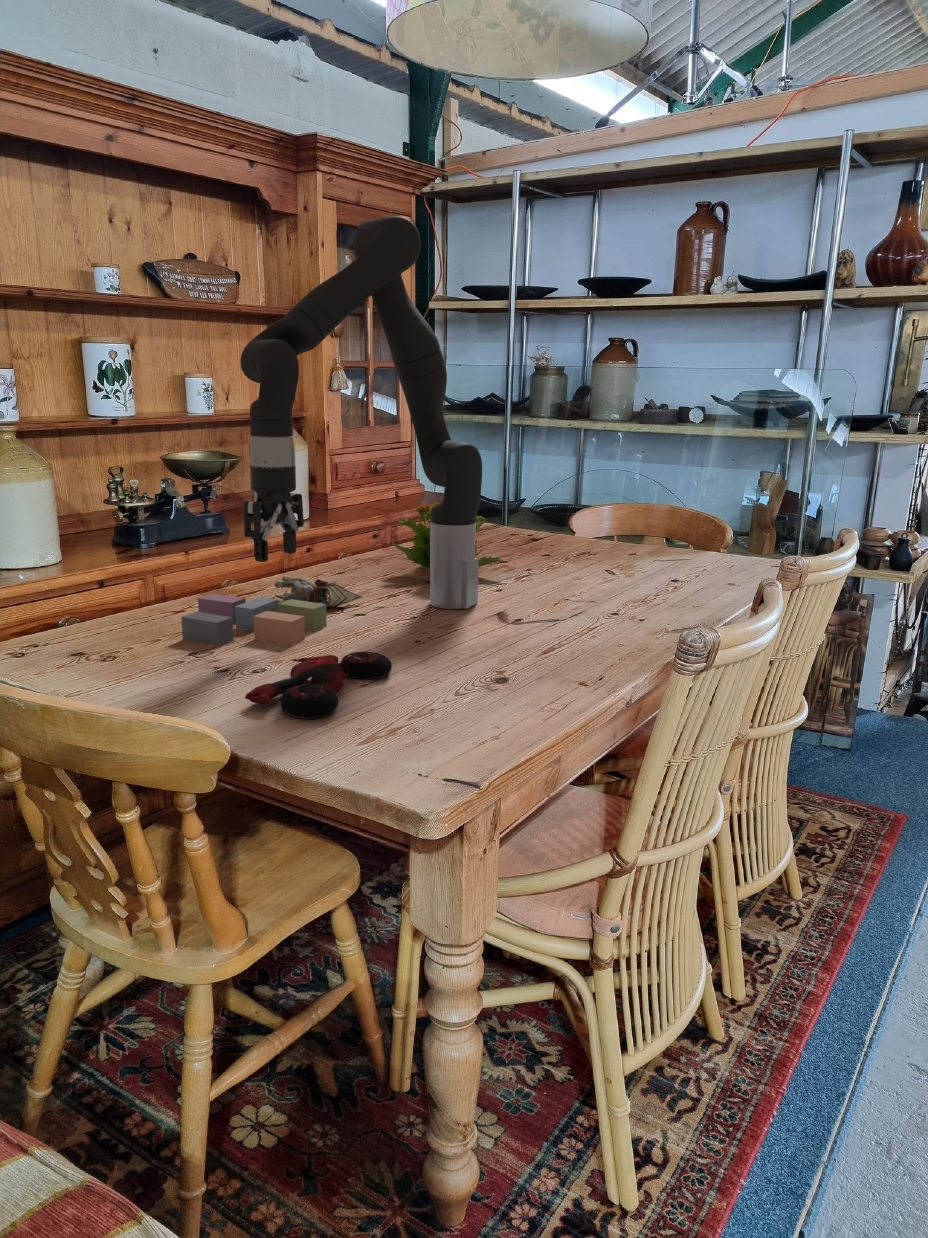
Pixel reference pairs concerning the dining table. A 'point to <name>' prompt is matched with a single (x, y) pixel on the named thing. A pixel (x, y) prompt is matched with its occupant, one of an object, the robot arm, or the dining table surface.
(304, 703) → the toy motorcycle
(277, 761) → the dining table surface
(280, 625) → the terracotta brick
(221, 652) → the dining table surface
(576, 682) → the dining table surface
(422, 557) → the potted flower
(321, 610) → the olive brick
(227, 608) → the plum brick
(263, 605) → the slate blue brick
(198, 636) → the charcoal brick
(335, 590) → the figurine
